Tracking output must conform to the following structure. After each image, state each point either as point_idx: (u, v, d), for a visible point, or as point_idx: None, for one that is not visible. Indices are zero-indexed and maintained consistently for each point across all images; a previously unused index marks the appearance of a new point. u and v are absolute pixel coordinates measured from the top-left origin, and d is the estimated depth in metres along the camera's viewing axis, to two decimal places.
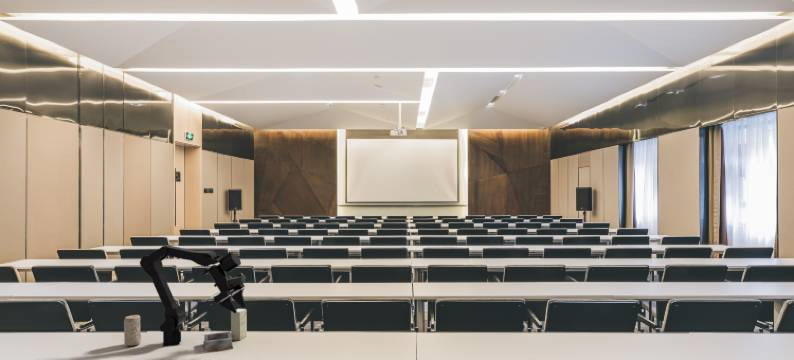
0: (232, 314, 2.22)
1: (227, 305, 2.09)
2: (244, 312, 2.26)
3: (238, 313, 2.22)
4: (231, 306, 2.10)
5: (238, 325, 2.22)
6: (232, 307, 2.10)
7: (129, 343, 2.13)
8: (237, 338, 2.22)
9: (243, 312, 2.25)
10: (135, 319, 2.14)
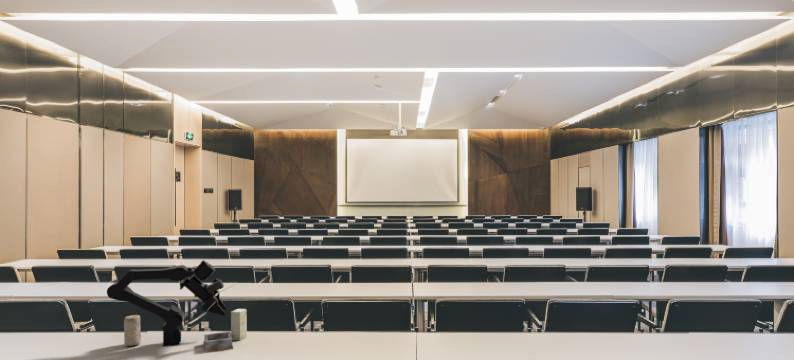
0: (232, 314, 2.22)
1: (215, 310, 2.17)
2: (244, 312, 2.26)
3: (238, 313, 2.22)
4: (219, 309, 2.17)
5: (238, 325, 2.22)
6: (220, 310, 2.18)
7: (129, 343, 2.13)
8: (237, 338, 2.22)
9: (243, 312, 2.25)
10: (135, 319, 2.14)
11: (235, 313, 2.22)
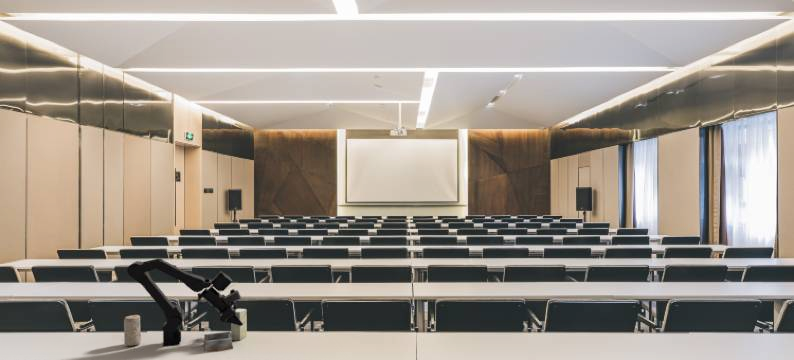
0: None
1: (233, 320, 2.20)
2: (244, 312, 2.26)
3: (238, 313, 2.22)
4: (236, 320, 2.20)
5: (238, 325, 2.22)
6: (238, 321, 2.21)
7: (129, 343, 2.13)
8: (237, 338, 2.22)
9: (243, 312, 2.25)
10: (135, 319, 2.14)
11: None
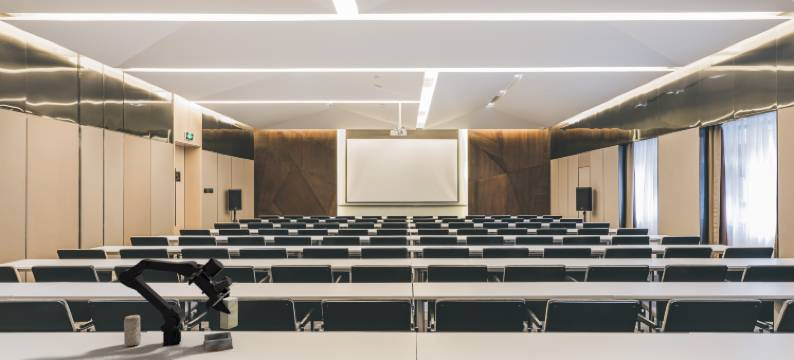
0: None
1: (220, 308, 2.14)
2: (234, 301, 2.19)
3: (227, 301, 2.16)
4: (224, 308, 2.14)
5: None
6: (225, 309, 2.14)
7: (129, 343, 2.13)
8: (225, 327, 2.16)
9: (233, 300, 2.18)
10: (135, 319, 2.14)
11: (224, 301, 2.16)
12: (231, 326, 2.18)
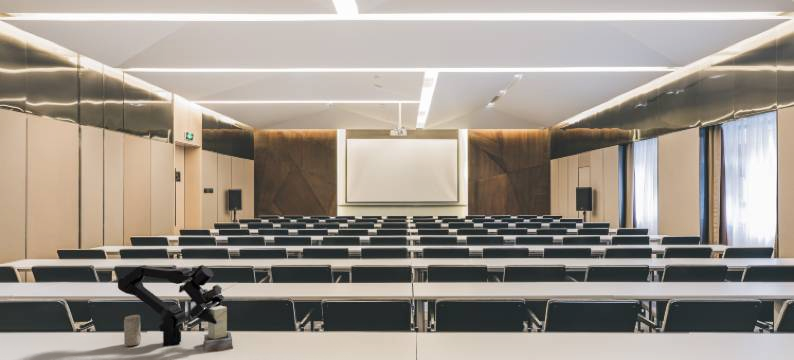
0: None
1: (206, 317, 2.10)
2: (223, 310, 2.14)
3: (213, 311, 2.11)
4: (209, 317, 2.10)
5: None
6: (211, 318, 2.10)
7: (129, 343, 2.13)
8: (212, 337, 2.11)
9: (221, 310, 2.13)
10: (135, 319, 2.14)
11: (211, 310, 2.12)
12: (218, 336, 2.12)
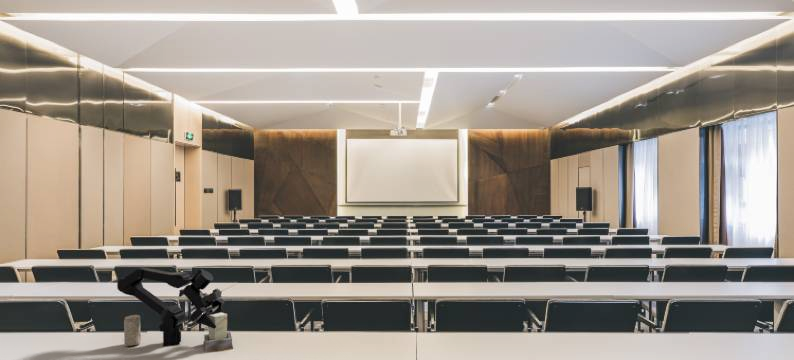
0: None
1: (205, 322, 2.09)
2: (223, 317, 2.14)
3: (214, 317, 2.11)
4: (209, 322, 2.09)
5: (213, 330, 2.11)
6: (210, 323, 2.09)
7: (129, 343, 2.13)
8: None
9: (221, 317, 2.13)
10: (135, 319, 2.14)
11: (211, 317, 2.12)
12: None
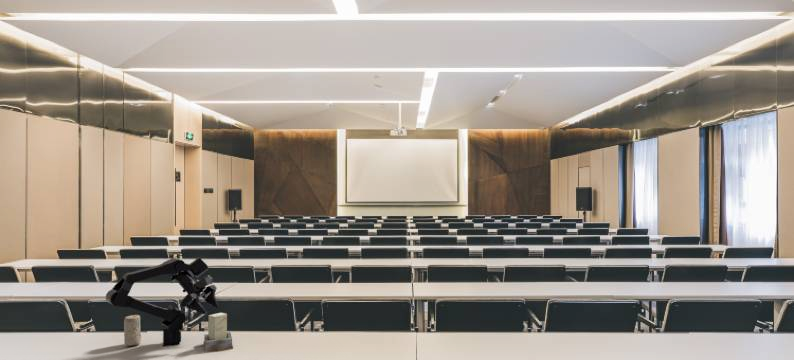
0: (209, 318, 2.13)
1: (196, 307, 2.14)
2: (223, 317, 2.14)
3: (213, 317, 2.11)
4: (199, 307, 2.14)
5: (213, 330, 2.11)
6: (201, 308, 2.14)
7: (129, 343, 2.13)
8: None
9: (221, 317, 2.13)
10: (135, 319, 2.14)
11: (211, 317, 2.12)
12: None
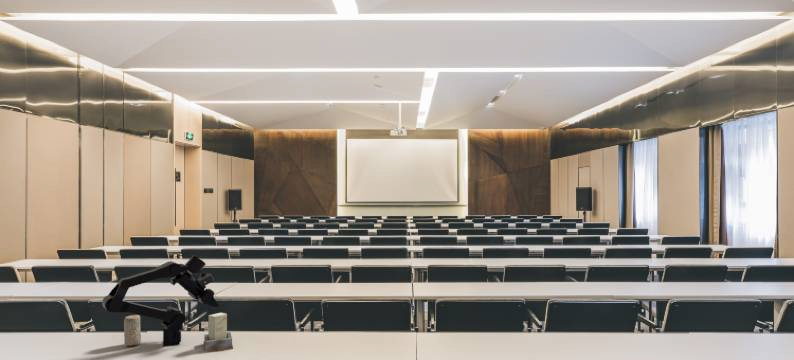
0: (209, 318, 2.13)
1: (210, 302, 2.22)
2: (223, 317, 2.14)
3: (213, 317, 2.11)
4: (214, 302, 2.23)
5: (213, 330, 2.11)
6: (215, 302, 2.24)
7: (129, 343, 2.13)
8: None
9: (221, 317, 2.13)
10: (135, 319, 2.14)
11: (211, 317, 2.12)
12: None
